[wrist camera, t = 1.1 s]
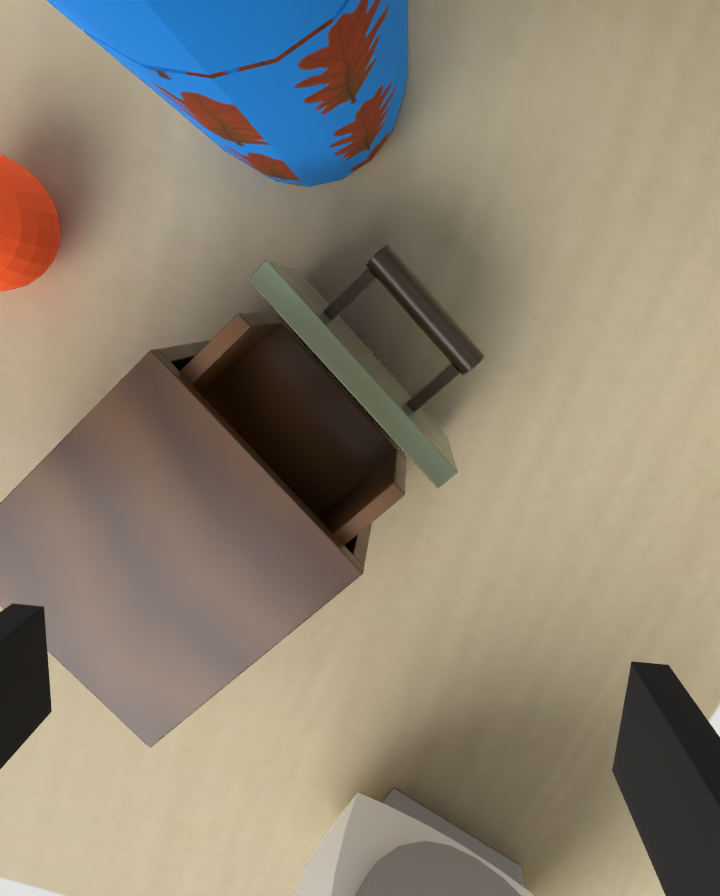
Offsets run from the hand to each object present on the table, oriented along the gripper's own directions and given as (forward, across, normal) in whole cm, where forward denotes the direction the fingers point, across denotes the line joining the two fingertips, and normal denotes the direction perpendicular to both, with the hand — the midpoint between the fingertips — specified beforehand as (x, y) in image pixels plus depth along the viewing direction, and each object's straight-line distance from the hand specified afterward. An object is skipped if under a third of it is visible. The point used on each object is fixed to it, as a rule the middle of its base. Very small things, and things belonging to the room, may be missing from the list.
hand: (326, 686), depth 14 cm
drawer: (+23, -4, +2) cm, 23 cm away
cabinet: (+23, -10, -4) cm, 26 cm away
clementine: (+24, -21, +12) cm, 34 cm away
